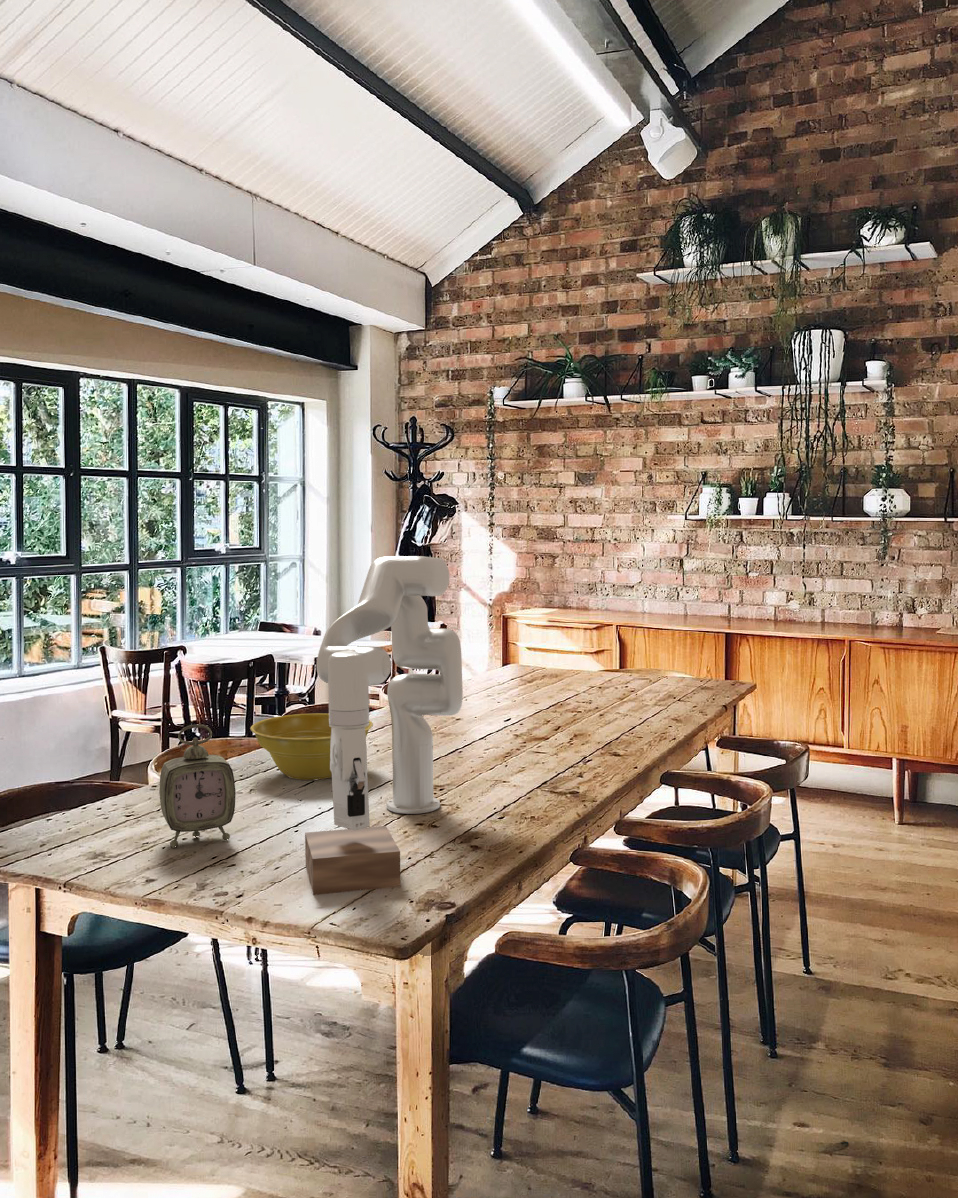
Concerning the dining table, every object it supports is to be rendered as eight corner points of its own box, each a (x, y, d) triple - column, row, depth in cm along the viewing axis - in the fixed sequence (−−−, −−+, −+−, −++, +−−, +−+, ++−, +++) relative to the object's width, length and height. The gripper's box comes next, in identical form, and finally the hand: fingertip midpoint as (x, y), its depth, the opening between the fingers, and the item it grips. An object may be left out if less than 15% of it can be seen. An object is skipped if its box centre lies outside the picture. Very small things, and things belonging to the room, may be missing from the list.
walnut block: (305, 867, 200) (304, 832, 199) (386, 860, 204) (386, 826, 203) (313, 896, 184) (312, 859, 184) (400, 888, 188) (400, 851, 188)
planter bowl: (395, 777, 268) (394, 727, 267) (281, 797, 250) (279, 743, 249) (340, 754, 294) (339, 708, 293) (233, 770, 276) (232, 721, 275)
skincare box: (370, 826, 193) (369, 763, 192) (352, 832, 189) (351, 767, 188) (349, 820, 197) (348, 758, 196) (331, 825, 194) (330, 762, 193)
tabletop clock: (166, 852, 209) (162, 731, 207) (159, 839, 217) (155, 723, 215) (236, 842, 215) (233, 725, 213) (228, 830, 223) (225, 717, 221)
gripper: (318, 711, 198) (319, 801, 199) (341, 727, 182) (343, 825, 183) (355, 708, 201) (356, 796, 202) (382, 724, 185) (383, 820, 186)
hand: (350, 809), depth 193 cm, fingers closed on skincare box, 7 cm apart
